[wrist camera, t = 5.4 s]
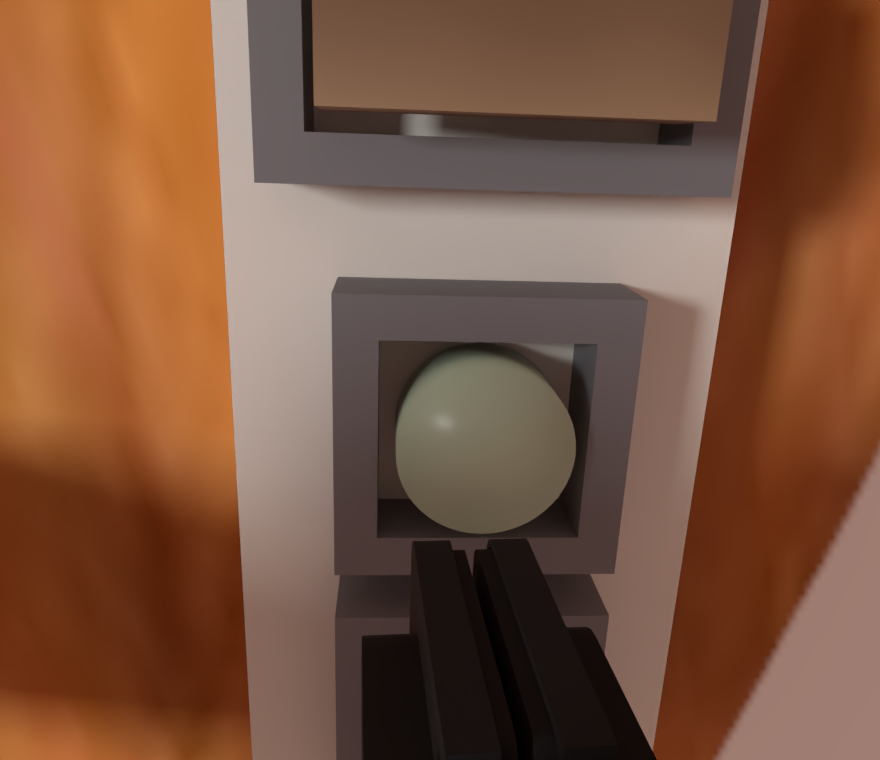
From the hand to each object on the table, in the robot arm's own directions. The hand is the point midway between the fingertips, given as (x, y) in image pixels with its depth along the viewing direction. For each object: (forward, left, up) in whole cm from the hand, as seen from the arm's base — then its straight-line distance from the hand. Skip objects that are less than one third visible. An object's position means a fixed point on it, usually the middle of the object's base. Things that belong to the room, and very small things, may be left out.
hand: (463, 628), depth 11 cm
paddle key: (+9, +2, -6) cm, 11 cm away
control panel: (+1, -1, -11) cm, 11 cm away
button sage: (+1, -1, -8) cm, 8 cm away
